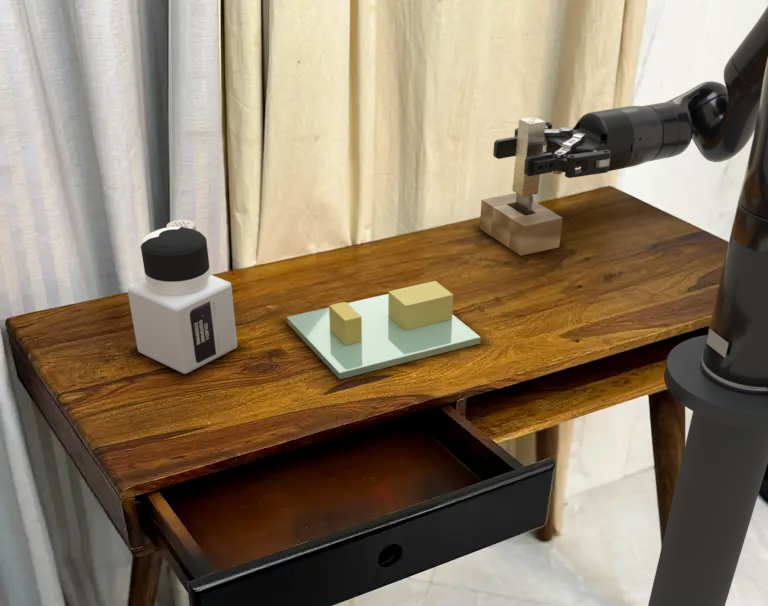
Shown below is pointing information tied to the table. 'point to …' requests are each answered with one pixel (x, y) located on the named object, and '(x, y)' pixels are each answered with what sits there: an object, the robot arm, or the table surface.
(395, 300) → the butter block
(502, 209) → the knife stand
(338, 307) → the block
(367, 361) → the butter board
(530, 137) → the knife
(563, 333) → the table surface
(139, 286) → the container
